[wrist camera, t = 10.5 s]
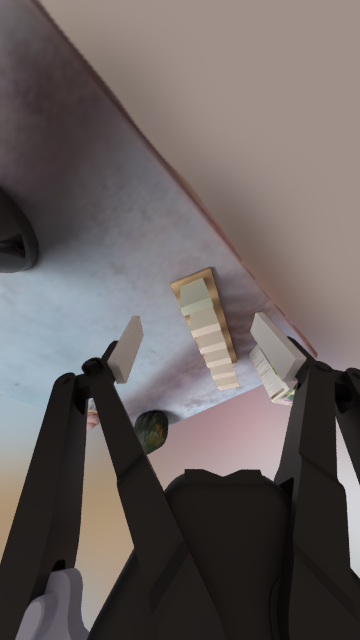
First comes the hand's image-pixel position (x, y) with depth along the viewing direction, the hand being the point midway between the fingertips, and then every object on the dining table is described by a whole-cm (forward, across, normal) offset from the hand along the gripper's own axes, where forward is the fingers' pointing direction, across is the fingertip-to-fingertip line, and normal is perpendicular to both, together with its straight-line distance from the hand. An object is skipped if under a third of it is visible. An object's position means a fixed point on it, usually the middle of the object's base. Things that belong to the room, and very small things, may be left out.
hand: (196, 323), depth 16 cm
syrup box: (+18, +21, -22) cm, 35 cm away
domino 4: (+16, +6, -14) cm, 22 cm away
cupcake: (+18, -39, -52) cm, 68 cm away
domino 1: (+16, +1, -1) cm, 16 cm away
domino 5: (+16, +7, -18) cm, 26 cm away
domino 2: (+16, +2, -6) cm, 17 cm away
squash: (+18, -17, -63) cm, 68 cm away
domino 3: (+16, +4, -10) cm, 19 cm away
